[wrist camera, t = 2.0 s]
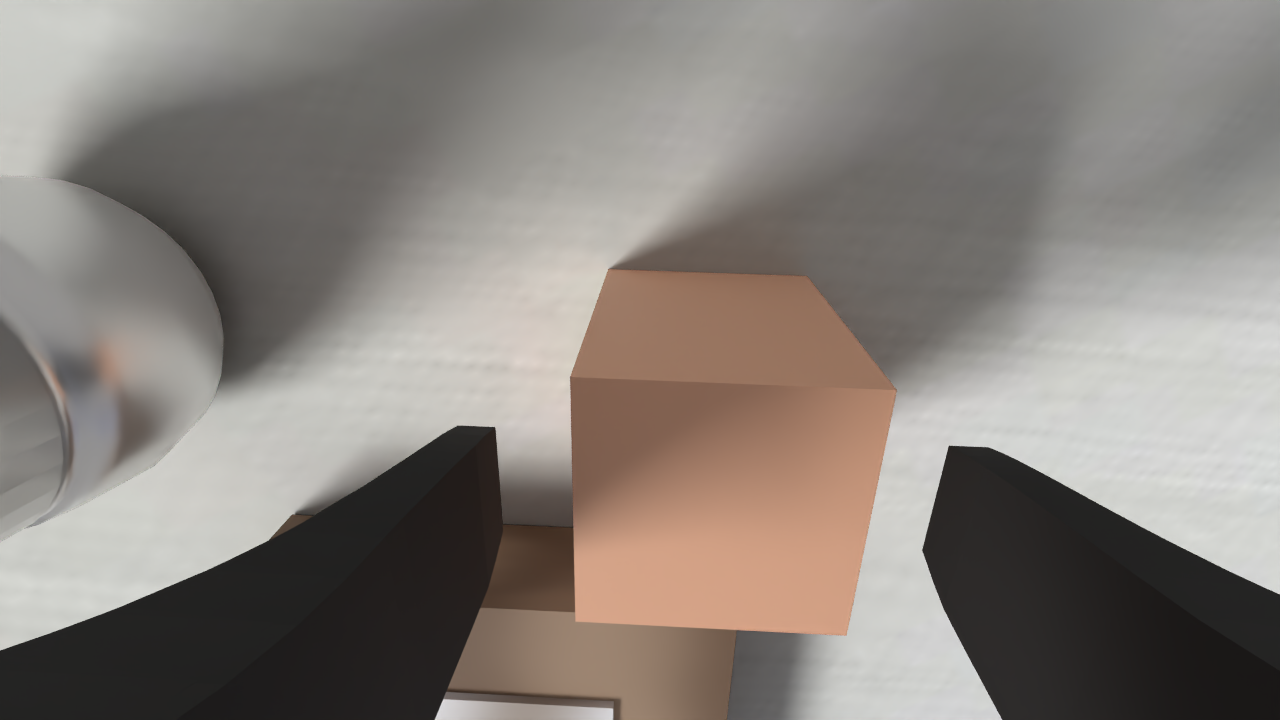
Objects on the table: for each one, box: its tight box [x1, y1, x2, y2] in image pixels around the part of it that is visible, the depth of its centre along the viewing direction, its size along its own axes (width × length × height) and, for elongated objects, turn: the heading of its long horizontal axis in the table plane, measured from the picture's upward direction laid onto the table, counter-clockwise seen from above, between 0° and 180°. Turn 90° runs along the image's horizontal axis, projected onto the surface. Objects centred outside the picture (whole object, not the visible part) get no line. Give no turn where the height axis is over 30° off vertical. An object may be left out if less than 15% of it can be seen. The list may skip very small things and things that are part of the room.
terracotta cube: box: [570, 269, 897, 636], centre depth 12 cm, size 4×4×6 cm
